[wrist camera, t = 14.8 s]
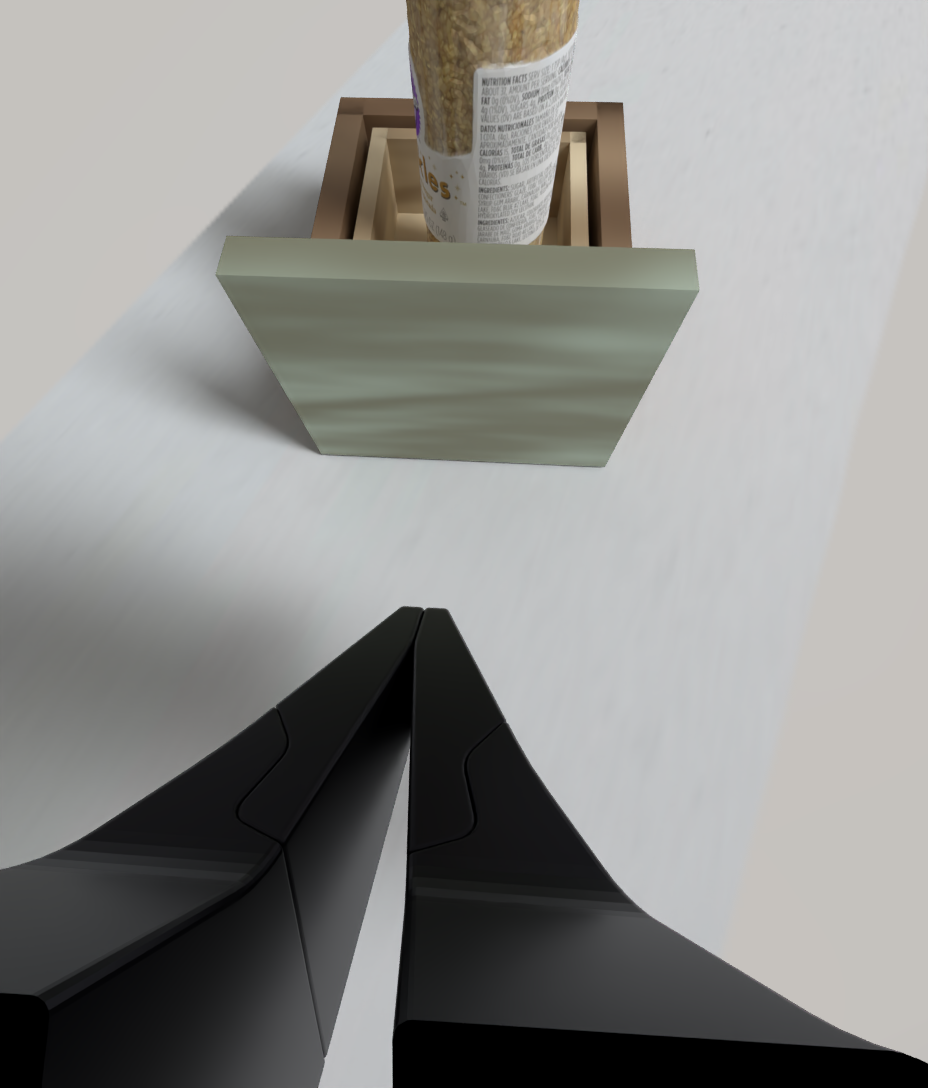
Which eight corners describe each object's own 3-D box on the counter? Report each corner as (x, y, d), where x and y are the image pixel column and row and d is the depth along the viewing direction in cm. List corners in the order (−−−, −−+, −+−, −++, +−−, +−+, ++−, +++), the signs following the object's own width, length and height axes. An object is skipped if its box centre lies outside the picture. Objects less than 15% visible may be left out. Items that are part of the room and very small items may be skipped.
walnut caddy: (602, 436, 20) (639, 359, 15) (327, 424, 20) (287, 346, 16) (595, 213, 23) (622, 102, 19) (364, 207, 24) (340, 97, 19)
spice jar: (415, 264, 21) (322, -439, 8) (515, 235, 21) (579, -477, 9) (450, 347, 19) (406, -346, 7) (557, 315, 20) (708, -396, 7)
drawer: (604, 466, 19) (699, 290, 11) (321, 454, 19) (215, 274, 11) (596, 233, 23) (662, -22, 15) (360, 227, 23) (301, -26, 15)
